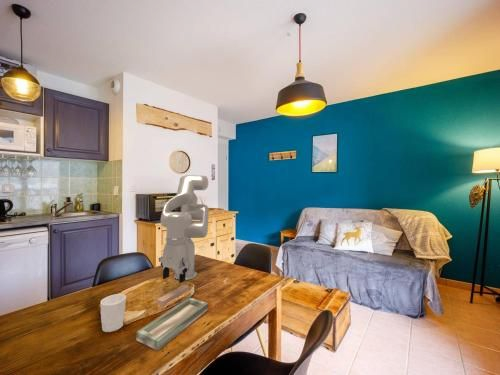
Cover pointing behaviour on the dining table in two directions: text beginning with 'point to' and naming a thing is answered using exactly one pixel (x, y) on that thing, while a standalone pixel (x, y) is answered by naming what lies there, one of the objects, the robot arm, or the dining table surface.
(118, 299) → the white cup
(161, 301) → the clay strip
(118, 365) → the dining table surface
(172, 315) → the glass channel tray
